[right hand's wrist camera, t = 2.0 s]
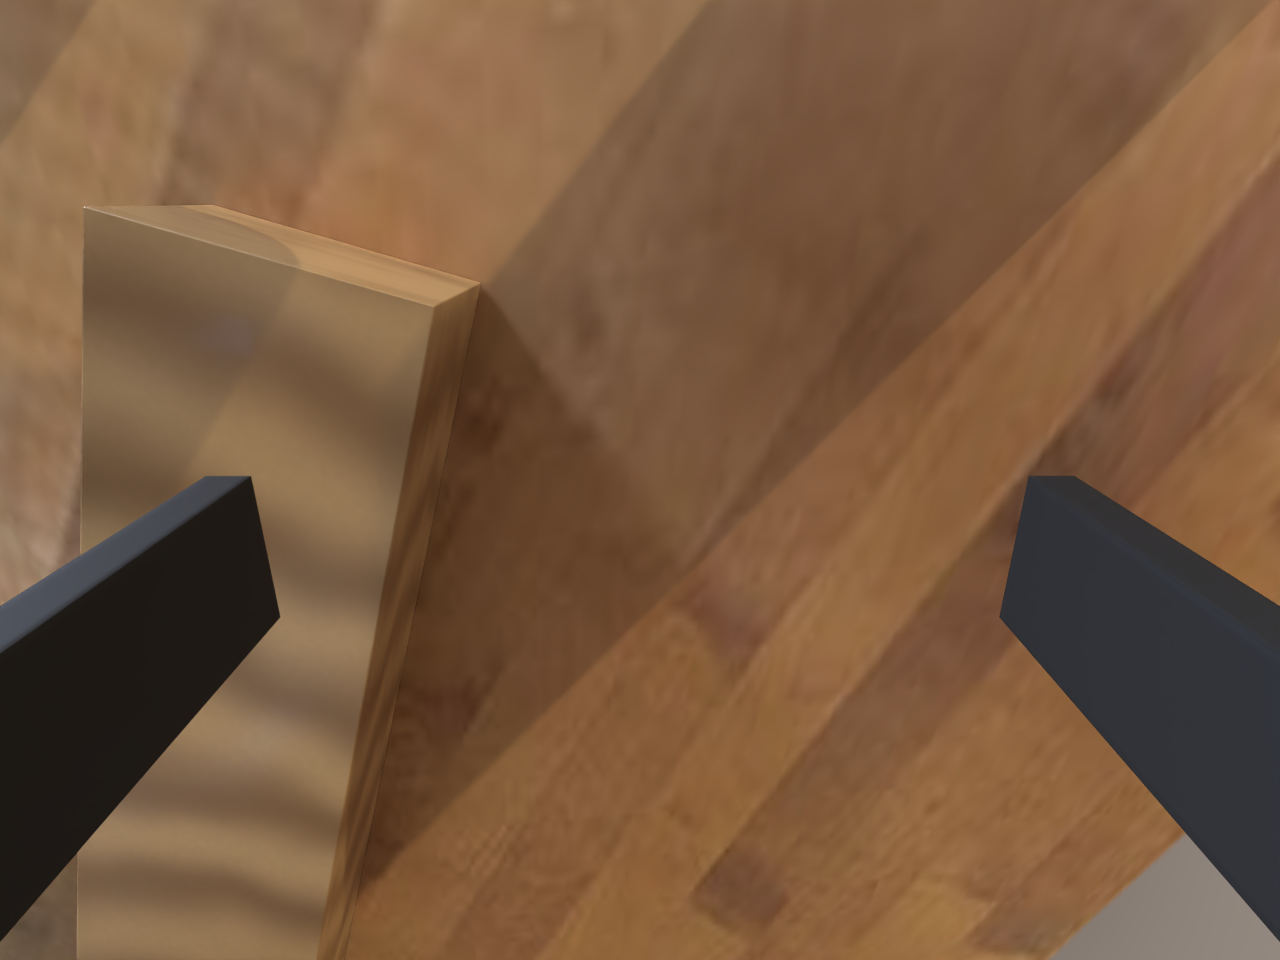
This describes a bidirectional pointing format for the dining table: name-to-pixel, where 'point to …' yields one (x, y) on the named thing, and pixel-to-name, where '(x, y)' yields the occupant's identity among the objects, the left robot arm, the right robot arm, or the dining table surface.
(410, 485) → the slab
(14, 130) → the dining table surface
